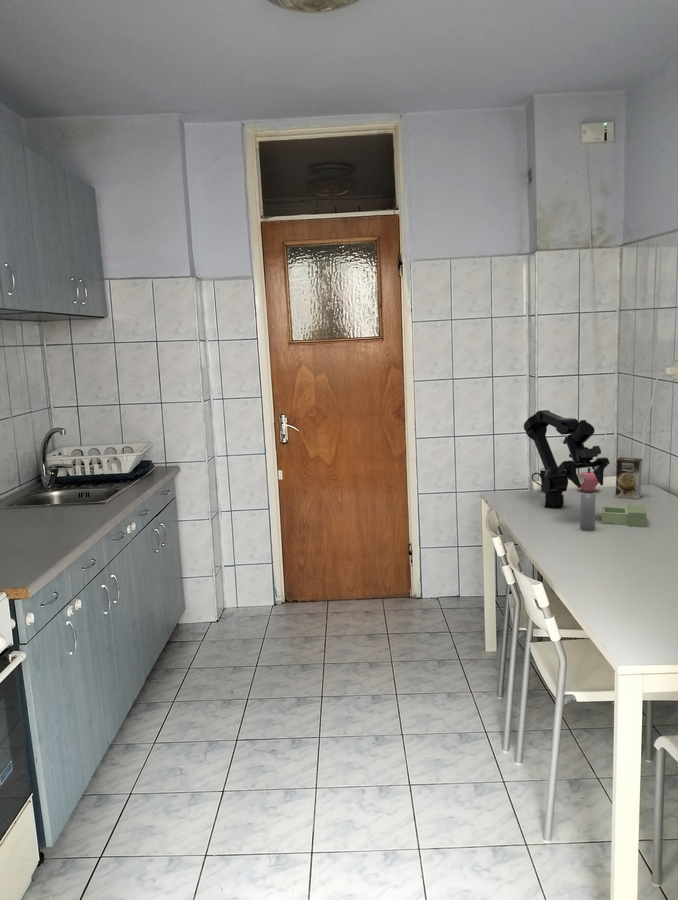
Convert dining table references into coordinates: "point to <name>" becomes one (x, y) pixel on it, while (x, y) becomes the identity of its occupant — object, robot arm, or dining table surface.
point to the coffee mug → (541, 474)
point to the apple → (587, 481)
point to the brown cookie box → (628, 478)
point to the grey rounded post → (587, 511)
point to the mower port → (625, 515)
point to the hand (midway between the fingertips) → (591, 486)
